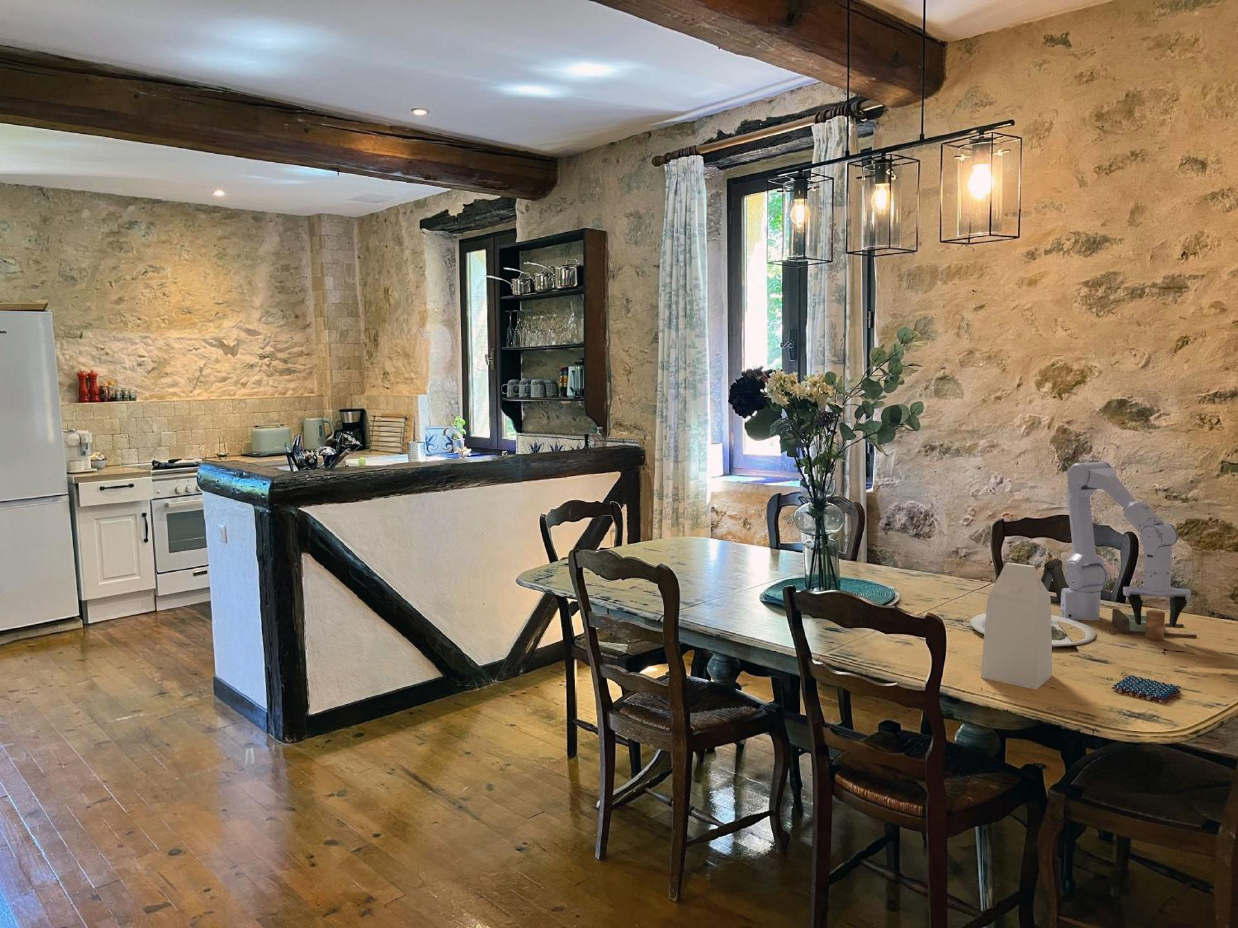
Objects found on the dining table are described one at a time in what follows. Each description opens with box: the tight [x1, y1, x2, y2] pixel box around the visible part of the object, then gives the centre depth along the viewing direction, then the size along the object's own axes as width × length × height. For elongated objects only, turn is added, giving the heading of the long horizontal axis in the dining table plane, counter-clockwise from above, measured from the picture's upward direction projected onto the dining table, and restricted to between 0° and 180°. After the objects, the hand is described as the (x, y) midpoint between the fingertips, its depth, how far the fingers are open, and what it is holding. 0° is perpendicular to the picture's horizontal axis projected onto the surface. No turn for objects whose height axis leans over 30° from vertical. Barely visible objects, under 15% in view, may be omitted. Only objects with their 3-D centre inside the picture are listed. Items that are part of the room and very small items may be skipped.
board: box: [1111, 608, 1197, 639], centre depth 223 cm, size 17×16×5 cm
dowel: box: [1144, 609, 1166, 642], centre depth 218 cm, size 4×4×7 cm
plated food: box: [970, 612, 1097, 648], centre depth 229 cm, size 30×30×3 cm
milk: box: [980, 562, 1053, 691], centre depth 196 cm, size 12×12×26 cm
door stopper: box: [1040, 558, 1069, 605], centre depth 261 cm, size 9×6×12 cm, turn 42°
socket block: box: [1122, 612, 1166, 633], centre depth 226 cm, size 8×8×3 cm
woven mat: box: [1111, 674, 1181, 704], centre depth 187 cm, size 10×11×2 cm
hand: (1155, 624), depth 218 cm, fingers open, 7 cm apart
